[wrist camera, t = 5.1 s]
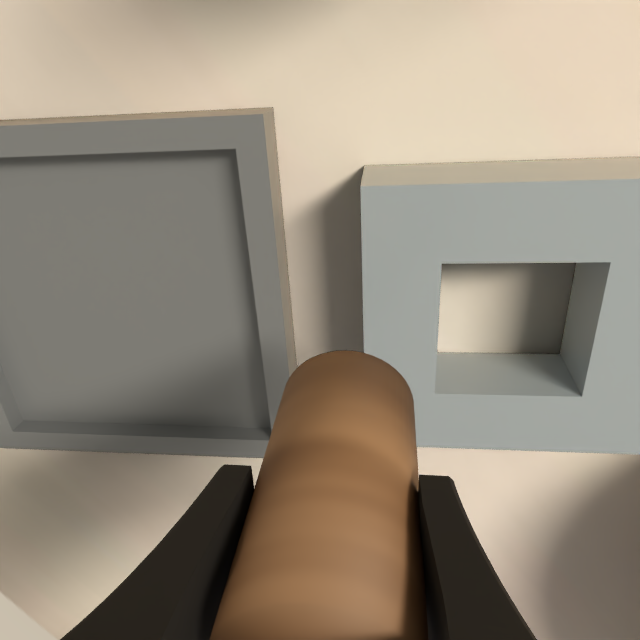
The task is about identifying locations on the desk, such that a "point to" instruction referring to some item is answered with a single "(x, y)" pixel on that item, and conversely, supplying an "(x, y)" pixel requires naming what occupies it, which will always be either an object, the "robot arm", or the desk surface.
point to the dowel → (333, 513)
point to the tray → (143, 283)
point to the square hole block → (509, 247)
